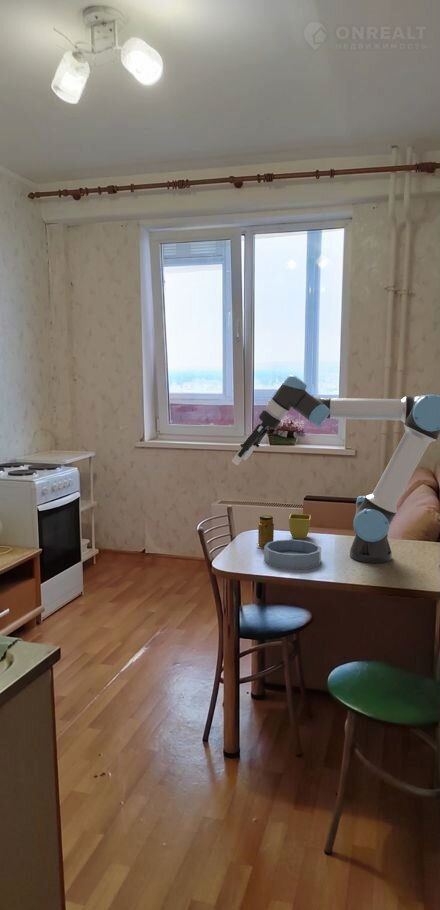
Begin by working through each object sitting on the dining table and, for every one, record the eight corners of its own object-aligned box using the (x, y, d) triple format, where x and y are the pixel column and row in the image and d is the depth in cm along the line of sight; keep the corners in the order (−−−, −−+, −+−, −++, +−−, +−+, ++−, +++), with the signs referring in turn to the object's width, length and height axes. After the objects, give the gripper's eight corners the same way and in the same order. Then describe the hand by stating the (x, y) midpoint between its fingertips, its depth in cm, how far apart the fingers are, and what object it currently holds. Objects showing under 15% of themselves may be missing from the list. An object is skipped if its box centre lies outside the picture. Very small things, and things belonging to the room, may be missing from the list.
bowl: (308, 551, 224) (308, 538, 224) (329, 567, 205) (329, 553, 204) (258, 554, 220) (258, 541, 219) (274, 570, 200) (275, 556, 200)
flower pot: (309, 540, 239) (310, 519, 238) (288, 539, 241) (288, 518, 240) (310, 535, 248) (311, 514, 247) (289, 534, 250) (290, 513, 248)
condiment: (257, 543, 235) (257, 514, 233) (278, 543, 234) (278, 514, 233) (257, 548, 228) (257, 518, 226) (279, 549, 227) (279, 518, 226)
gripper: (271, 406, 220) (238, 450, 225) (257, 409, 196) (221, 458, 201) (286, 418, 219) (254, 462, 224) (275, 423, 195) (238, 472, 200)
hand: (238, 460), depth 213 cm, fingers open, 13 cm apart
